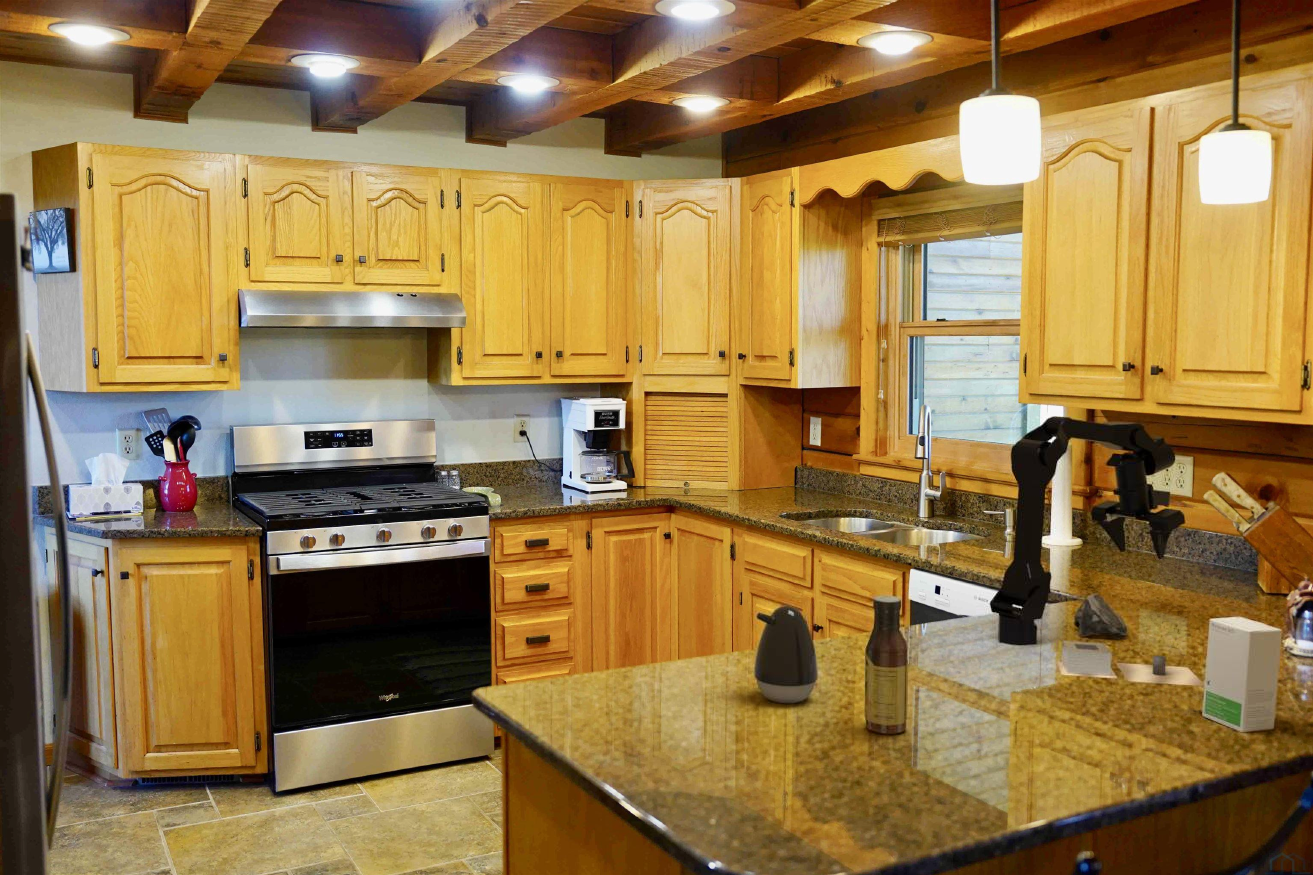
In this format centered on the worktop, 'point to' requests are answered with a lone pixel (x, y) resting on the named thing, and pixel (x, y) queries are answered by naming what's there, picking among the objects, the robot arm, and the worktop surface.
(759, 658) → the pump dispenser
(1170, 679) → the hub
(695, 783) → the worktop surface
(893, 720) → the sauce bottle
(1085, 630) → the carved stone fragment
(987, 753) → the worktop surface
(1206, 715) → the skincare box
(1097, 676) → the stand
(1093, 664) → the collar
